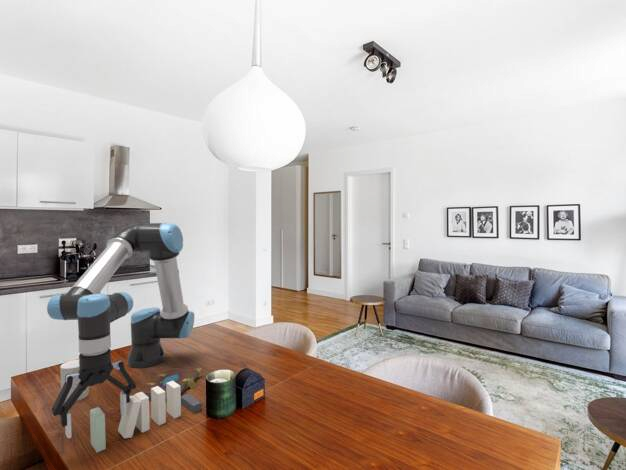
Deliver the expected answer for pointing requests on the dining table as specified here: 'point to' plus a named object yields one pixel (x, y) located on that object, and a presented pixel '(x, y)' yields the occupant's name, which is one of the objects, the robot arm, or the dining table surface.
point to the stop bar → (191, 403)
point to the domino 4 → (158, 405)
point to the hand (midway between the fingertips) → (97, 424)
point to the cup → (71, 368)
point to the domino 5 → (173, 399)
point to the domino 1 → (97, 429)
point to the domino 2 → (129, 417)
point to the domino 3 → (143, 413)
